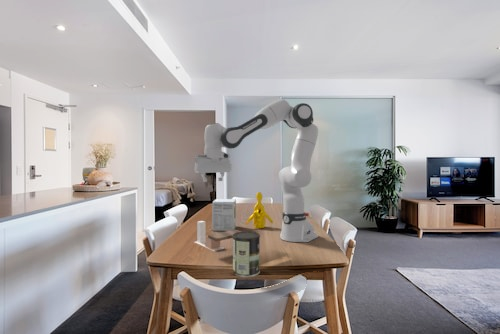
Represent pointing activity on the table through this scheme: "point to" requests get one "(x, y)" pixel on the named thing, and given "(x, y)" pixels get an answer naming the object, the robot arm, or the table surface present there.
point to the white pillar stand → (203, 235)
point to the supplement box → (223, 214)
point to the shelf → (223, 235)
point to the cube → (211, 243)
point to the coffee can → (246, 254)
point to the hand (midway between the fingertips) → (212, 181)
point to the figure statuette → (259, 213)
